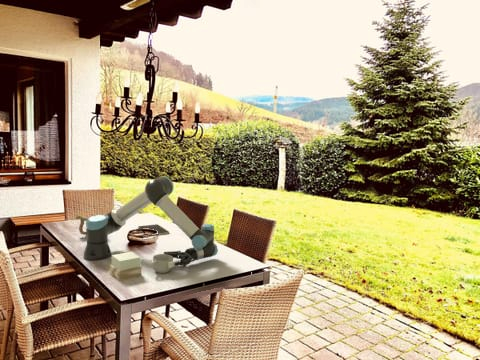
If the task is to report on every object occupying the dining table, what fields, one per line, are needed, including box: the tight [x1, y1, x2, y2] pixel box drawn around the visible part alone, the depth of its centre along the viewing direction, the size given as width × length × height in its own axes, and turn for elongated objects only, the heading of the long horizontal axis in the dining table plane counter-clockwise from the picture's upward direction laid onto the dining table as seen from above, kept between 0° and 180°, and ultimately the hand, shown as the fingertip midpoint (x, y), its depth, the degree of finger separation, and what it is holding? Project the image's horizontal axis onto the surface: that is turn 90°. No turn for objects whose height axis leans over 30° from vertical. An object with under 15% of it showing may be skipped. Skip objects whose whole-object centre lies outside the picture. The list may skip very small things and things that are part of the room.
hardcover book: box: [137, 223, 170, 236], centre depth 288 cm, size 16×23×2 cm
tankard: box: [75, 215, 91, 239], centre depth 265 cm, size 20×13×15 cm, turn 84°
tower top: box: [111, 251, 141, 271], centre depth 202 cm, size 11×11×5 cm
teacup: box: [150, 253, 174, 274], centre depth 207 cm, size 14×11×8 cm
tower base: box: [109, 263, 142, 281], centre depth 202 cm, size 12×12×5 cm
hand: (161, 261), depth 207 cm, fingers open, 13 cm apart
